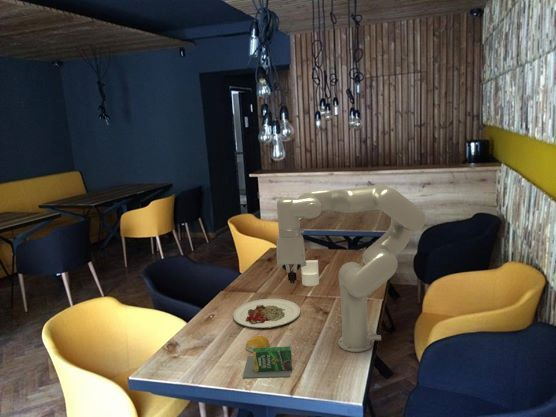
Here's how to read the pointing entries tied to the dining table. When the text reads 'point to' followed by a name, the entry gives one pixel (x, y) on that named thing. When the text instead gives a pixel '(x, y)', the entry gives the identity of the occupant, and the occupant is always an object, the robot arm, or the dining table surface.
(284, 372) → the mat
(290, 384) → the dining table surface
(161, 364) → the dining table surface
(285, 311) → the plated food
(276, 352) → the coffee box
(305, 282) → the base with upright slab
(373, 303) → the dining table surface
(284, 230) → the robot arm
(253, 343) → the bread roll
